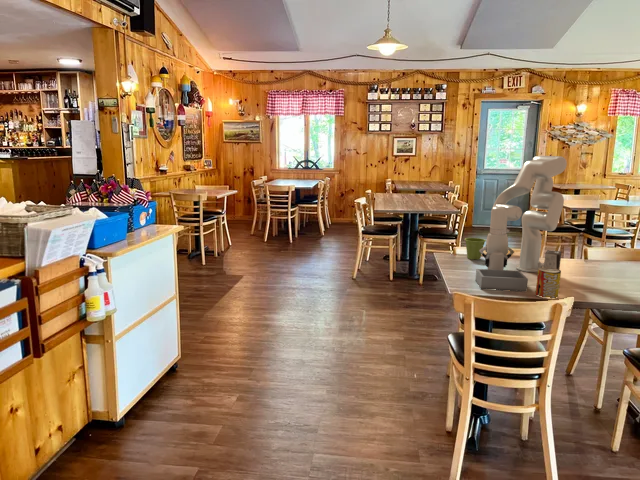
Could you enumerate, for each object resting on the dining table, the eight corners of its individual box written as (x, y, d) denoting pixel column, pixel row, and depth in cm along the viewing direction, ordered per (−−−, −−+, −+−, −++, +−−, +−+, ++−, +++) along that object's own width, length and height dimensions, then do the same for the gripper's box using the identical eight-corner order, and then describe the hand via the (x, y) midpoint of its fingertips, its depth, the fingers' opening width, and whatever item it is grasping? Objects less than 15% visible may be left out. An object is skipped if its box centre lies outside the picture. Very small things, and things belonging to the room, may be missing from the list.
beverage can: (530, 293, 209) (533, 267, 207) (548, 292, 211) (551, 266, 209) (544, 300, 201) (547, 273, 198) (562, 298, 203) (565, 272, 200)
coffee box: (556, 288, 217) (560, 254, 214) (541, 286, 220) (544, 252, 217) (558, 283, 224) (562, 251, 221) (543, 281, 228) (547, 249, 225)
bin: (518, 282, 225) (519, 270, 224) (526, 291, 212) (527, 279, 211) (475, 280, 228) (476, 268, 227) (480, 289, 215) (481, 276, 213)
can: (495, 276, 229) (497, 252, 226) (483, 272, 235) (485, 249, 232) (506, 273, 232) (508, 250, 229) (494, 270, 238) (496, 247, 236)
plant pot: (485, 257, 276) (486, 238, 273) (483, 261, 265) (484, 242, 263) (464, 255, 280) (465, 236, 278) (461, 259, 270) (463, 240, 267)
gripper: (514, 230, 231) (512, 264, 235) (478, 230, 234) (476, 264, 238) (518, 233, 224) (515, 269, 228) (481, 233, 227) (478, 268, 230)
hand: (495, 266), depth 233 cm, fingers closed on can, 7 cm apart
